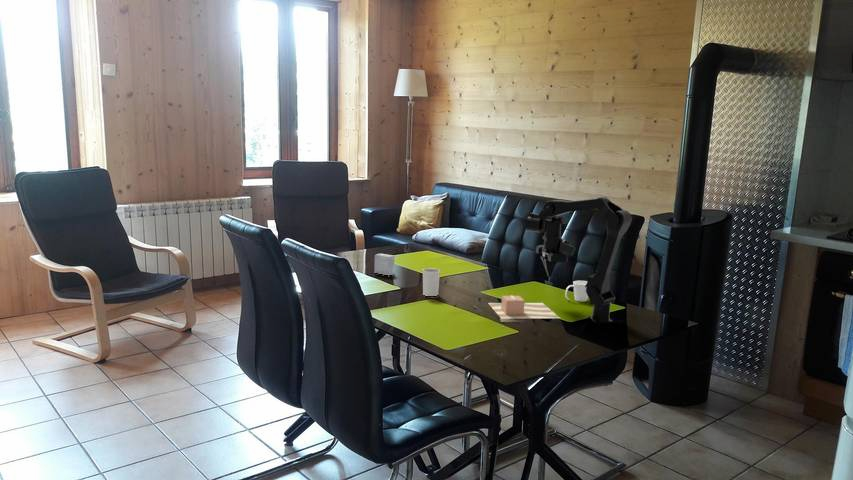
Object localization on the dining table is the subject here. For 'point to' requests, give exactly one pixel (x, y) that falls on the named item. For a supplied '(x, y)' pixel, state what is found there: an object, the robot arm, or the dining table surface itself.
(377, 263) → the medicine box
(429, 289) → the drinking glass
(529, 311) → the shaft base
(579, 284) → the cup
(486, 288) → the dining table surface
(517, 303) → the pink block
